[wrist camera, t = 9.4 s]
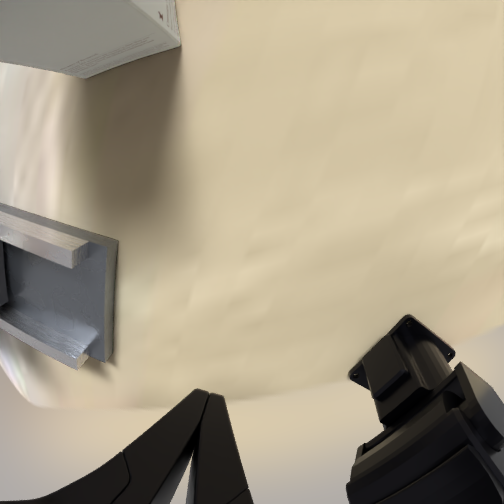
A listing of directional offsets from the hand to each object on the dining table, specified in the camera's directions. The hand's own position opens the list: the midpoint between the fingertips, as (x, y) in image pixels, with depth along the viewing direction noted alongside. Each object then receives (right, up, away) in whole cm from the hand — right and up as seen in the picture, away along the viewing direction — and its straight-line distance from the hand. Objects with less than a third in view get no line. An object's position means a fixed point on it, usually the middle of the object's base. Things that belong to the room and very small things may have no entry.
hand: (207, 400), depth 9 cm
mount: (-19, +3, +14) cm, 23 cm away
